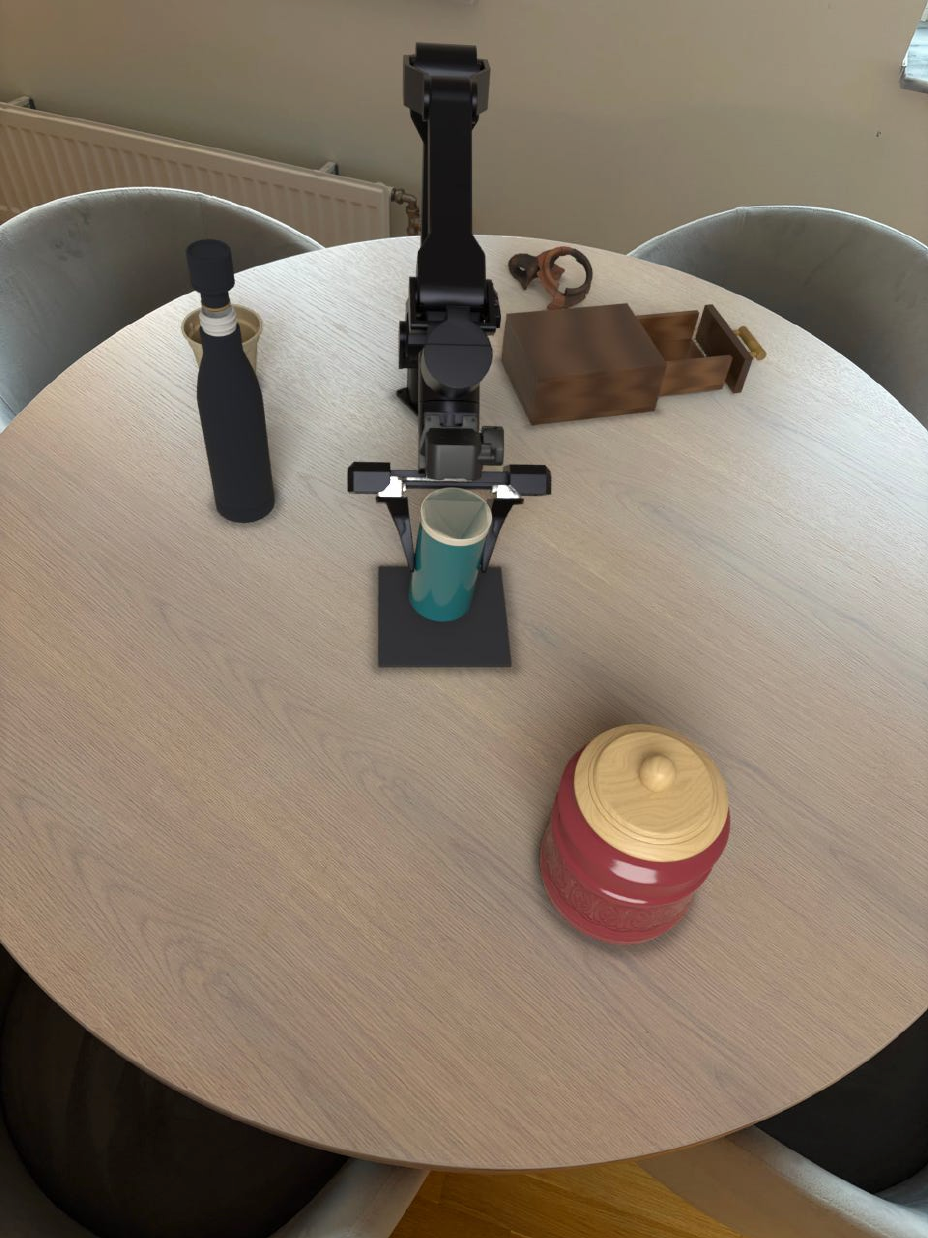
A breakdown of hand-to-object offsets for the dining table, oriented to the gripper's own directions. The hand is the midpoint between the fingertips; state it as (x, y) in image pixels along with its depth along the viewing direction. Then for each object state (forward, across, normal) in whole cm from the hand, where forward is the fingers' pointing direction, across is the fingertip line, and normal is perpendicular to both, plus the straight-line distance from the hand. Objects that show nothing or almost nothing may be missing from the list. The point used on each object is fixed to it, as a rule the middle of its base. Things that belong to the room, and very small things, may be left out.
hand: (447, 572), depth 90 cm
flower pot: (-21, -25, +33) cm, 47 cm away
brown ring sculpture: (-37, +18, +50) cm, 64 cm away
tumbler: (+3, 0, +5) cm, 5 cm away
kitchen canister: (+25, +13, -13) cm, 31 cm away
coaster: (+5, 0, +6) cm, 8 cm away
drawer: (-25, +34, +36) cm, 55 cm away
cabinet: (-23, +19, +34) cm, 45 cm away
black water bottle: (-6, -21, +18) cm, 29 cm away
